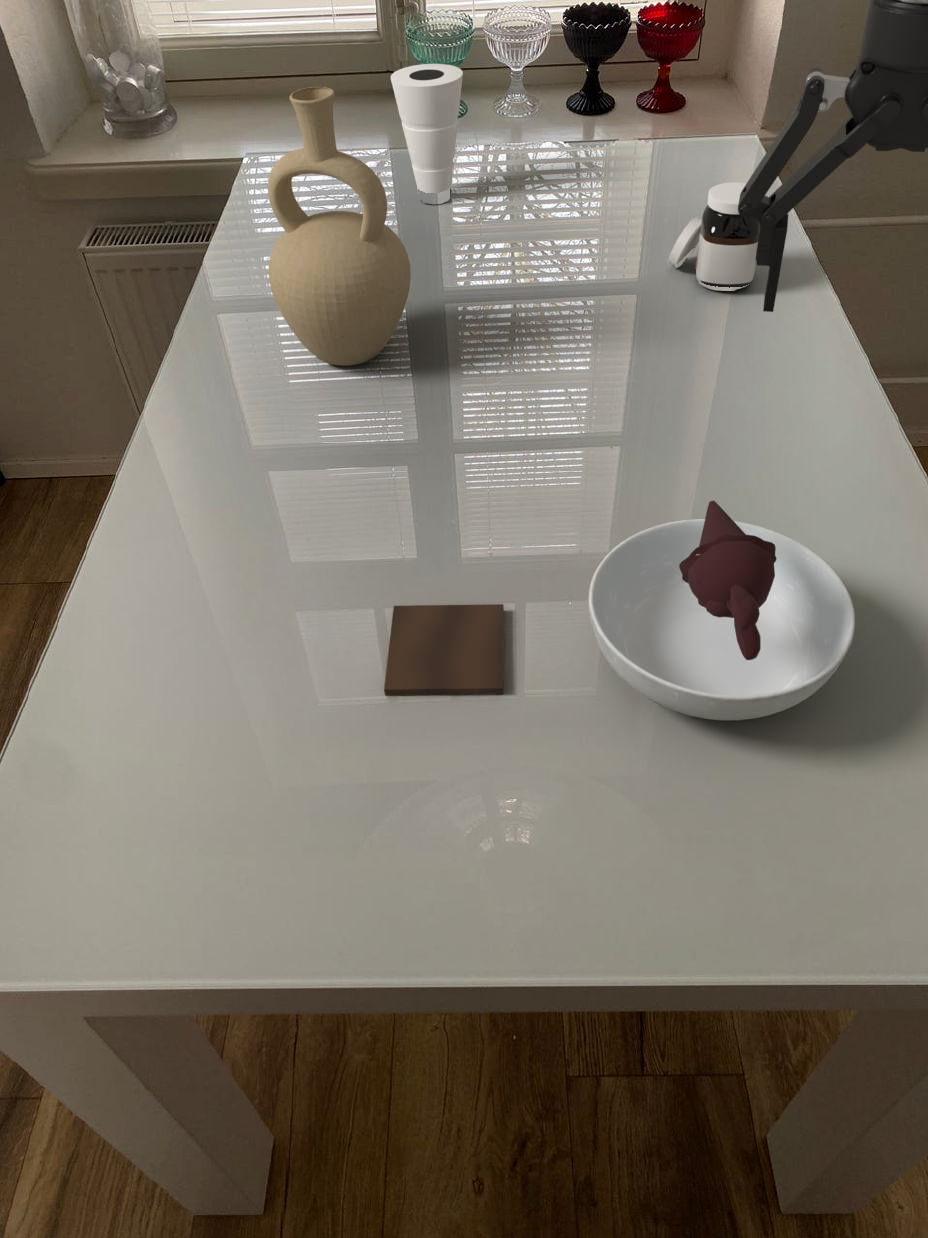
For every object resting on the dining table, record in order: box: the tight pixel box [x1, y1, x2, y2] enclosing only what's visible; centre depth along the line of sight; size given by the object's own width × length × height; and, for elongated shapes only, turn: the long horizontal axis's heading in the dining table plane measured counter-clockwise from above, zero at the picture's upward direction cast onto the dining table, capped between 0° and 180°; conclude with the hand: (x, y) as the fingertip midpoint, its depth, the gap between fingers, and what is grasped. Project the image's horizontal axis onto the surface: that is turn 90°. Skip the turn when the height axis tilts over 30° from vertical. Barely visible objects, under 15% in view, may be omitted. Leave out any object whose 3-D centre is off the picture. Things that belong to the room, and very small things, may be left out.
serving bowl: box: [587, 518, 856, 721], centre depth 80 cm, size 21×21×7 cm
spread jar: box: [667, 181, 760, 288], centre depth 126 cm, size 12×11×12 cm
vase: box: [267, 86, 412, 367], centre depth 110 cm, size 17×17×30 cm
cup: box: [390, 63, 464, 193], centre depth 147 cm, size 11×11×18 cm
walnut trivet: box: [383, 603, 505, 696], centre depth 84 cm, size 10×10×1 cm
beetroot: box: [679, 500, 776, 660], centre depth 75 cm, size 7×7×15 cm
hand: (859, 309), depth 74 cm, fingers open, 13 cm apart
